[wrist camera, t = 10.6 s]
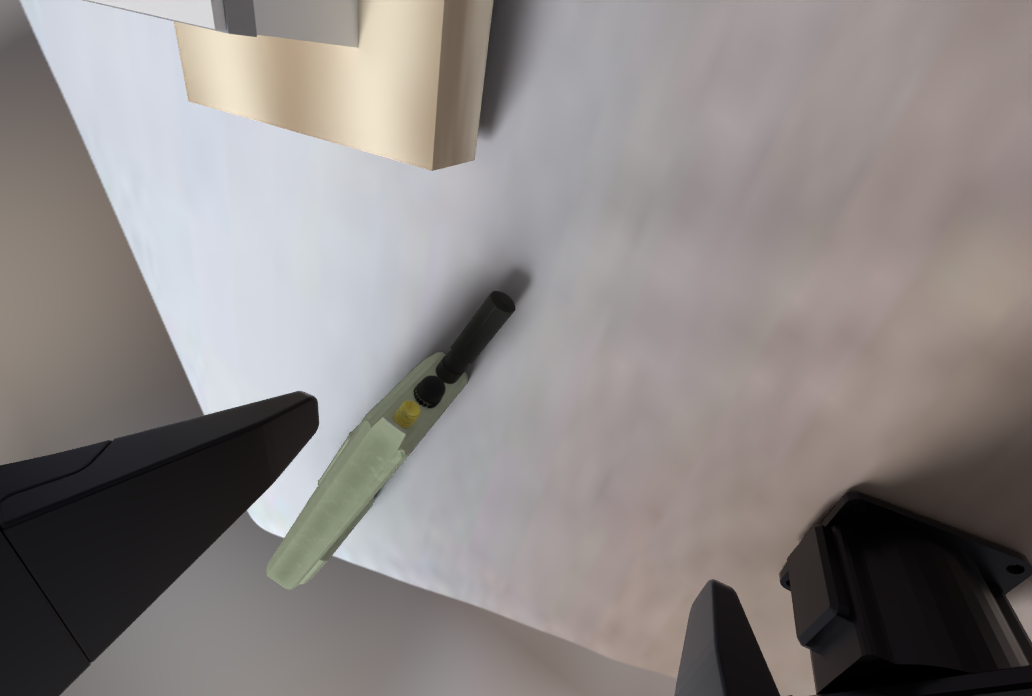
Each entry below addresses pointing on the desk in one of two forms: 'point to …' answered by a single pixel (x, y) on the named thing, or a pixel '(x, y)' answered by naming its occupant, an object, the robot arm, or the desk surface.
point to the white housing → (259, 17)
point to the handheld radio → (381, 449)
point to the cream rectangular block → (358, 79)
